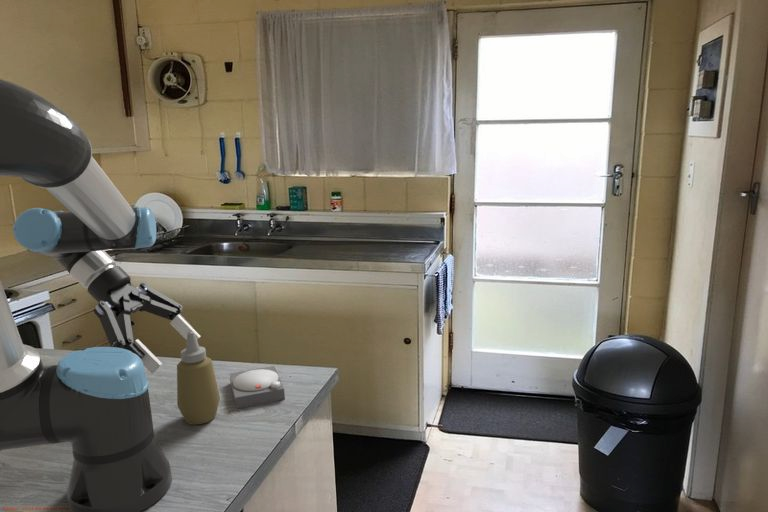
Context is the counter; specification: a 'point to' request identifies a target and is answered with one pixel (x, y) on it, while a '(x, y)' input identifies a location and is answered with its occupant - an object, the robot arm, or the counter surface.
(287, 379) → the counter surface
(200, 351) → the squeeze bottle
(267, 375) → the white dome on base
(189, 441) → the counter surface
